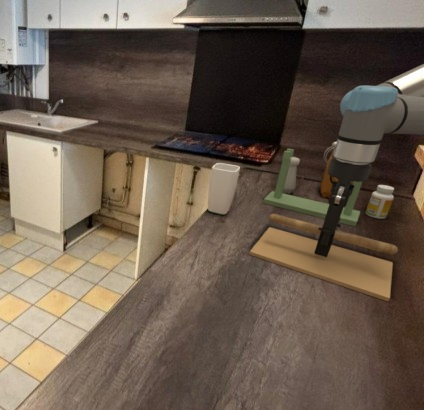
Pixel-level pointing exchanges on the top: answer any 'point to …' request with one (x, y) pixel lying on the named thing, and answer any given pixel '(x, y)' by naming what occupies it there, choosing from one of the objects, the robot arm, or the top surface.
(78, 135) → the top surface
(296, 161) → the salt shaker
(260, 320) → the top surface
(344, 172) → the robot arm
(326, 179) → the coffee package
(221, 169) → the cup
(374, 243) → the rod
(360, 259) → the mat
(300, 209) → the rack
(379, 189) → the supplement bottle
